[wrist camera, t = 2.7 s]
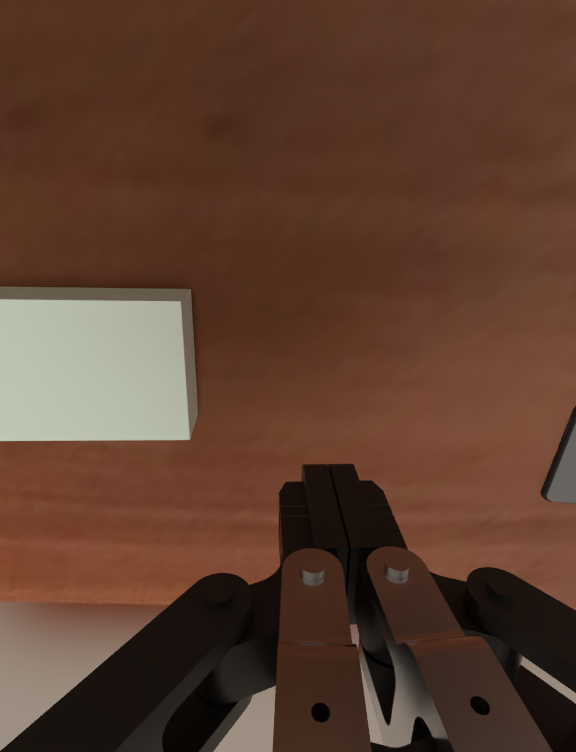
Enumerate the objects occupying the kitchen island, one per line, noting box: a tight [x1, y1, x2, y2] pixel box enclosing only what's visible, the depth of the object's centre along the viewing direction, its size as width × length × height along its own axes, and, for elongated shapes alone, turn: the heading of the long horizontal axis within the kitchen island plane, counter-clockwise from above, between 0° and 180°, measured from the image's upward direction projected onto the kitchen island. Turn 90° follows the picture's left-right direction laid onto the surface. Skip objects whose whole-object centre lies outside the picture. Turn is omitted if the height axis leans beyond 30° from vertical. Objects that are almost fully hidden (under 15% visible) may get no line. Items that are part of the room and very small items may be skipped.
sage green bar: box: [0, 287, 198, 441], centre depth 22 cm, size 7×16×3 cm, turn 89°
